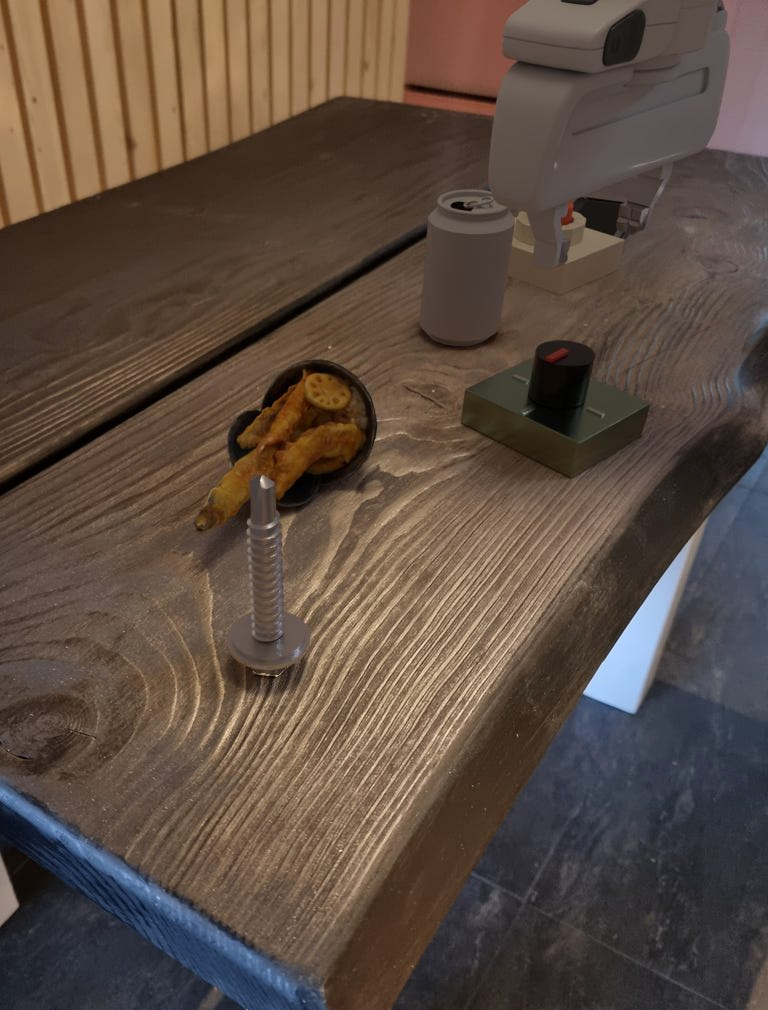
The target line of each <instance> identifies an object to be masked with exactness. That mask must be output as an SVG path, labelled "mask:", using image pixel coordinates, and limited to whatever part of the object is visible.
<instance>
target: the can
mask: <svg viewBox="0 0 768 1010" xmlns="http://www.w3.org/2000/svg"><path fill="white" fill-rule="evenodd" d="M436 204H437V207H436V208H435V209H433V210H432V212H431V213H430V214H429V215H428V217H427V228H426V229H427V230H426V238H425V240H426V242H425V250H424V251H425V253H424V262H423V263H424V265H423V273H422V274H423V275H422V287H421V299H420V310H419V326H420V328H421V329H422V330H423V331H424V332H425V333H426V335H427V336H429V338H430V339H431V340H433V341H435V342H437V343H440V344H443V345H447V346H453V347H469V346H475V345H478V344H481V343H484V342H485V341H487V340H489V338H490V337H492V336H494V335H495V334H496V333H497V332H498V331H499V329H500V328H501V321H502V316H503V315H502V314H503V309H504V308H503V307H504V301H505V295H506V287H507V281H508V276H507V274H508V268H509V261H510V254H511V247H512V241H513V234H514V227H515V220H514V218H515V216H514V215H513V214H512V212H511V211H510V210H509V209H510V208H509V207H506V206H503V205H500V204H498V203H497V202H496V201H495V200H494V198H493V196H492V193H491V191H490V190H485V189H484V190H483V189H457V190H451V191H447V192H444V193H442V194H441V195H440V196H439V197H438V198H437V199H436Z"/></svg>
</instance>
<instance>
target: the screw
mask: <svg viewBox="0 0 768 1010" xmlns="http://www.w3.org/2000/svg"><path fill="white" fill-rule="evenodd" d="M280 520H281V514H280V512H279V510H277V505H276V492H275V482H273V481H272V480H270V479H268V478H267V477H265V475H263V474H262V475H257V476H254V477H253V478H251V479H250V517H248V519H247V521H246V524H247V525H248V528H247V529H246V531H245V532H246V535H247V536H248V537H247V539H246V544H247V545H248V547H247V554H249V555H248V556H247V561H248V563H249V564H248V566H247V567H248V571H249V574H248V579H249V580H250V581H249V583H248V584H249V585H248V586H249V588H250V590H249V595H250V597H251V598H250V600H249V602H250V605H251V606H250V612H248V613H245V614H243V615H241V616H240V617H239V618H237V619H235V621H234V622H233V623H232V624H230V626H229V628H228V630H227V633H226V636H225V637H226V648H227V650H228V653H229V654H230V655H231V657H232V658H233V659H234V660H236V661H237V662H238V663H239V664H241V665H243V666H245V667H248V668H250V667H251V668H252V670H253V671H254V672H256V673H266V674H270V675H279V674H280V673H281V672H282V671H283V670H285V668H287V666H289V665H291V666H293V665H294V664H296V663H297V662H299V661H300V660H301V659H302V658H304V657H305V655H306V654H307V652H308V651H309V649H310V646H311V631H310V629H309V628H310V627H308V625H307V623H306V622H305V621H304V620H303V619H302V618H300V617H299V616H297V615H296V614H294V613H292V612H289V611H286V610H285V609H284V607H285V602H284V597H285V596H284V595H285V594H284V584H283V583H284V576H283V575H284V569H283V565H284V560H283V555H284V553H283V541H282V540H283V533H282V528H283V525H282V523H281V521H280ZM292 664H293V665H292ZM251 668H250V669H251ZM252 670H251V671H252Z"/></svg>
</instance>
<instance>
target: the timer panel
mask: <svg viewBox="0 0 768 1010" xmlns="http://www.w3.org/2000/svg"><path fill="white" fill-rule="evenodd" d="M533 362H534V356H532V357H530V358H528V359H526V360H524V361H521V362H519V363H517V364H515V365H513V366H511V367H509V368H506V369H505V370H502V371H500V372H498V373H495V374H494V375H492V376H490V377H487V378H485V379H483V380H481V381H479V382H477V383H474V384H472V385H471V386H469V387H466V388H465V389H464V393H463V394H464V395H463V400H462V401H463V403H462V409H461V416H460V417H461V418H460V419H461V420H460V423H461V424H463V425H465V426H467V427H468V428H470V429H472V430H475V431H477V432H478V433H481V434H483V435H485V436H487V437H489V438H491V439H493V440H495V441H497V442H498V443H501V444H503V445H504V446H506V447H509V448H511V449H513V450H515V451H516V452H519V453H521V454H522V455H525V456H527V457H528V458H530V459H532V460H535V461H536V462H539V463H541V464H542V465H544V466H547V467H548V468H550V469H552V470H555V471H556V472H558V473H561V474H562V475H564V476H566V477H569V478H570V479H572V478H574V477H576V476H577V475H579V474H581V473H583V472H584V471H586V470H587V469H588V470H589V468H591V467H593V466H594V465H596V464H599V463H600V462H601V461H603V460H605V459H606V458H608V457H610V456H611V455H613V454H615V453H617V452H618V451H620V450H622V449H624V448H626V447H627V446H628V445H631V444H632V443H634V442H636V441H637V440H639V439H640V438H642V436H643V433H644V430H645V426H646V423H647V419H648V415H649V412H650V408H651V404H652V403H651V402H650V401H647V400H645V399H643V398H640V397H638V396H635V395H633V394H630V393H628V392H626V391H623V390H621V389H619V388H616V387H614V386H611V385H609V384H607V383H604V382H602V381H599V380H598V379H595V378H593V377H592V376H591V378H590V383H589V387H588V392H587V396H586V400H585V401H584V403H583V404H581V405H579V406H577V407H573V408H567V409H558V408H550V407H546V406H543V405H540V404H538V403H536V402H535V401H533V400H532V399H531V398H530V397H529V394H528V390H529V384H530V379H531V373H532V367H533Z"/></svg>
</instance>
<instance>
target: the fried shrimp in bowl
mask: <svg viewBox="0 0 768 1010" xmlns="http://www.w3.org/2000/svg"><path fill="white" fill-rule="evenodd" d="M377 433H378V419H377V413H376V409H375V406H374V401H373V398H372V395H371V394H370V392H369V390H368V389H367V387H366V386H365V385H364V383H363V382H362V381H361V380H360V379H359V378H358V376H357V375H356V374H355V373H353V372H352V371H350V370H349V369H347V368H346V367H344V366H343V365H341V364H338V363H336V362H334V361H330V360H327V359H306V360H302V361H299V362H296V363H294V364H292V365H290V366H288V367H286V368H285V369H284V370H283V371H281V372H280V373H279V374H278V375H276V376H275V378H274V379H273V381H272V382H271V383H270V385H269V386H268V388H267V390H266V391H265V393H264V395H263V398H262V401H261V406H260V410H259V409H252V410H244V411H243V412H242V413H239V414H238V415H237V416H236V417H235V419H234V420H233V421H232V422H231V424H230V426H229V430H228V433H227V437H226V448H227V449H226V451H227V454H228V456H229V460H230V463H231V466H232V469H231V470H230V471H228V472H226V474H225V475H224V476H223V477H222V478H221V479H220V480H219V481H218V482H217V484H216V485H215V486H214V487H213V488H211V490H210V491H209V493H208V495H207V498H206V500H205V501H204V502H205V503H204V504H203V506H202V507H201V508H200V509H199V511H198V513H197V514H196V515H195V518H194V520H193V525H194V527H195V531H196V533H197V534H198V535H199V536H204V535H206V534H207V533H208V532H210V531H212V530H214V529H215V528H216V527H220V526H222V525H224V524H225V523H226V522H227V520H228V519H229V518H230V517H233V516H235V515H238V512H239V510H240V509H241V508H242V507H243V505H244V504H245V503H246V502H247V501H249V500H251V498H250V479H251V478H253V477H254V476H257V475H262V474H263V475H265V477H267V478H268V479H270V480H272V481H273V482H275V492H276V506H280V507H283V508H298V507H302V506H304V505H306V504H307V503H309V502H310V501H311V500H313V498H314V497H315V496H316V493H317V492H318V490H319V488H320V486H328V485H329V486H330V485H334V484H338V483H341V482H343V481H345V480H346V479H349V478H351V477H352V476H353V475H354V474H355V473H356V472H357V471H358V470H360V469H361V467H362V466H363V465H364V464H365V463H366V462H367V460H368V459H369V457H370V456H371V453H372V451H373V447H374V445H375V442H376V438H377Z"/></svg>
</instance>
